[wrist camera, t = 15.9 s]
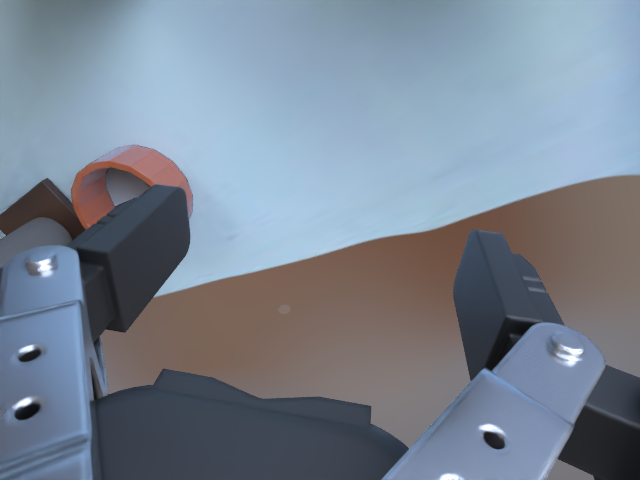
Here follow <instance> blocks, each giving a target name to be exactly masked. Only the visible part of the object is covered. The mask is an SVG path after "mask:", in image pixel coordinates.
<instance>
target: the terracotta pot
mask: <svg viewBox="0 0 640 480" xmlns="http://www.w3.org/2000/svg"><path fill="white" fill-rule="evenodd" d="M110 167H112V168H115V169H119V170H123V171H127V172H130V173H132V174H133V175H135V176H136V177H138V178H140V179H141V180H143V181H144V182H146V183H147V184H148V185H149V186H150V187H152V186H153V185H155V184H160V185H168V186H175V187H182V188H183V189H184V190H185V192H186V196H187V206H188V217H190V216H191V214H192V206H193V195H192V192H191V190H190V187H189V184H188V181H187V179H186V177H185V176H184V175H183V173H182V172H181V171H180V170H179V168H178V167H177V166H176V165H175V163H174V162H173V161H171V160H170V159H168V158H167V157H165V156H164V155H162V154H161V153H159V152H158V151H156V150H154V149H150V148H146V147H142V146H138V145H131V146H125V147H118V148H116V149H115V150H113V151H111V152H109V153H108V154H106V155H104V156H102V157H100V158H99V159H97V160H95V161H93V162H92V163H90V164H89V165H87V166H86V167H85V168H83V169H82V170H81V171H80V172H78V173H77V175H76V177H75V180H74V183H73V186H72V188H71V194H72V202H73V209H74V211H75V212H76V214H77V216H78V218H79V220H80V222H81V224H82V226H83V227H84V228H85V229H86V230H87V229H88V228H89V227H90V226H92V225H93V224H94V223H95V224H97V221H98V220H99V219H101V218H102V217H103V216H107V213H109V212H110V211H111V210H112V209H114V208H115V206H114V204H113V202H112V200H111V198H110V196H109V194H108V192H107V189H106V177H105V174H106V172H107V169H108V168H110Z"/></svg>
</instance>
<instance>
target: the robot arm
mask: <svg viewBox="0 0 640 480" xmlns="http://www.w3.org/2000/svg"><path fill="white" fill-rule="evenodd" d="M189 244H190V228H189V217H188V206H187V196H186V192H185V190H184V189H183V188H182V187H175V186H168V185H160V184H155V185H153V186H152V187H151V188H149V189H148V190H147V191H146V192H144V193H143V194H142V195H141V196H139V197H138V198H134V199H132V200H129V201H127V202H124V203H122V204H119V205H118V206H116V207H115V208H114V209H112V210H111V211H110V212H109V213H107V216H103V217H102V218H101V219H99V220H98V221H97V224H95V223H94V224H93V225H92V226H90V227H89V228H88V229H87V230H85V231H84V232H83V233H81V234H80V235H79V236H78V237H76V238H75V239H74V240H72V241H71V242H70V243H68V244H67V245H66V246H61V245H48V246H41V247H36V248H32V249H29V250H26V251H24V252H21V253H19V254H17V255H16V256H14V257H12V258H11V259H10V260H9V261H8V262H7V263H6V264H5V265H4V267H3V268H0V480H546V478H547V476H548V474H549V473H550V471H551V469H552V467H553V465H554V464H555V462H556V460H557V459H559V460H561V461H563V462H565V463H568V464H570V465H572V466H574V467H576V468H578V469H580V470H583V471H585V472H587V473H589V474H591V475H593V476H594V479H595V480H640V378H639V377H636V376H633V375H631V374H628V373H626V372H623V371H620V370H617V369H615V368H612V367H610V366H608V365H606V361H605V357H604V355H603V353H602V352H601V350H600V349H599V348H598V347H597V346H596V345H595V343H593V342H592V341H591V340H590V339H589V338H587V337H586V336H584V335H583V334H581V333H579V332H578V331H575V330H574V329H571V328H569V327H566V326H565V325H564V323H563V322H562V319H561V317H560V316H559V314H558V312H557V310H556V308H555V306H554V304H553V302H552V300H551V298H550V296H549V295H548V293H546V289H545V287H544V285H543V283H542V282H540V281H541V279H540V277H539V275H538V274H537V272H536V270H535V268H534V267H533V266H532V265H531V264H530V263H529V262H528V261H527V260H526V259H524V258H523V257H522V256H521V255H520V254H513V253H511V251H510V248H509V246H508V244H507V242H506V240H505V238H504V236H503V234H501V233H494V232H487V231H480V230H472V231H471V232H470V234H469V237H468V240H467V242H466V246H465V249H464V252H463V255H462V258H461V262H460V265H459V268H458V271H457V274H456V278H455V282H454V292H453V293H454V302H455V307H456V312H457V317H458V322H459V327H460V331H461V336H462V341H463V346H464V351H465V356H466V361H467V365H468V370H469V375H470V380H471V382H470V383H469V384H468V385H467V387H466V388H465V389H464V390H463V391H462V392H461V393H460V394H459V395H458V396H457V397H456V398H455V400H454V401H453V402H452V403H451V404H450V405H449V406H448V407H447V408H446V410H445V411H444V412H443V413H442V414H441V415H440V416H439V417H438V418H437V419H436V420H435V421H434V422H433V424H432V425H431V426H430V427H429V428H428V429H427V430H426V431H425V432H424V433H423V434H422V436H421V437H420V438H419V439H418V440H417V441H416V442H415V443H414V444H413V445H412V446H411V448H410V449H409V448H408V447H407V446H406V445H405V444H403V443H402V442H401V441H399V440H398V439H397V438H395V437H394V436H393V435H391V434H389V433H388V432H386V431H384V430H382V429H381V428H379V427H377V426H375V425H372V424H370V419H371V406H368V405H362V404H356V403H351V402H345V401H339V400H334V399H329V398H323V397H299V398H276V399H262V398H258V397H255V396H253V395H250V394H248V393H246V392H244V391H242V390H239V389H237V388H235V387H233V386H230V385H228V384H226V383H224V382H221V381H219V380H217V379H215V378H212V377H206V376H201V375H195V374H190V373H184V372H178V371H173V370H167V369H163V370H162V371H161V373H160V375H159V376H158V378H157V380H156V381H155V383H154V384H153V385H146V386H139V387H133V388H129V389H125V390H121V391H118V392H115V393H112V394H109V390H108V383H107V376H106V369H105V363H104V355H103V349H102V343H101V339H100V335H101V334H102V333H103V331H104V330H105V329H107V330H113V331H119V332H126V331H127V330H128V328H129V327H130V326H131V325H132V323H133V322H134V321H135V319H136V318H137V317H138V316H139V314H140V313H141V312H142V311H143V309H144V308H145V307H146V305H147V304H148V303H149V302H150V300H151V299H152V298H153V297H154V295H155V294H156V293H157V291H158V290H159V289H160V288H161V286H162V285H163V284H164V283H165V281H166V280H167V279H168V277H169V276H170V275H171V274H172V272H173V271H174V270H175V269H176V267H177V266H178V265H179V263H180V262H181V261H182V260H183V258H184V257H185V256H186V254H187V252H188V249H189Z"/></svg>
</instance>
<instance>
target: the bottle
mask: <svg viewBox="0 0 640 480" xmlns="http://www.w3.org/2000/svg"><path fill="white" fill-rule="evenodd" d="M71 241H72V238H71V236H70V234H69V232H68V231H67V230H66V229H65V228H64V227H63V226H62V225H61V224H59V223H58V222H56V221H54V220H52V219H50V218H45V217H38V218H35V219H33V220H31V221H29V222H28V223H26V224H24V225H23V226H21V227H19V228H18V229H16V230H15V231H13V232H11V233H10V234H8V235H7V236H5V237H3V238H2V239H0V268H3V267H4V265H5V264H6V263H7V262H8V261H9V260H10V259H11V258H12V257H14V256H16V255H17V254H19V253H21V252H24V251H26V250H29V249H32V248H36V247H41V246H48V245H61V246H66V245H67V244H68V243H70V242H71Z"/></svg>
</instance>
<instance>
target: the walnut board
mask: <svg viewBox="0 0 640 480" xmlns="http://www.w3.org/2000/svg"><path fill="white" fill-rule="evenodd" d="M38 217H45V218H50V219H52V220H54V221H56V222H58V223H59V224H61V225H62V226H63V227H64V228H65V229H66V230H67V231H68V232H69V234H70V236H71V238H72V240H74V239H75V238H76V237H78V236H79V235H80V234H81V233H83V232H84V231H85V230H86V229H85V228H84V227H83V226H82V224H81V222H80V220H79V218H78V216H77V214H76V212H75V211H74V209H73V204H72V203H71V202H70V201H69V200H68V199H67V198H66V197H65V196H64V195H63V194H62V193H61V191H60V190H59V189H58V188H57V187H56V186H55V185H54V184H53V183H52V182H51V181H50V180H49V179H48V178H47V179H45V180H43V181H41V182H40V183H39V184H38V185H36V186H35V187H34V188H33V189H32V190H30V191H29V192H28V193H27V194H25V195H24V196H23V197H22V198H20V199H19V200H18V201H17V202H16V203H14V204H13V205H12V206H11V207H9V208H8V209H7V210H6V211H4V212H3V213H2V214H1V215H0V230H1V231H2V232H3V233H4V234H5V235H6V236H7V235H8V234H10V233H11V232H13V231H15V230H16V229H18V228H19V227H21V226H23V225H24V224H26V223H28V222H29V221H31V220H33V219H35V218H38Z"/></svg>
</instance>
